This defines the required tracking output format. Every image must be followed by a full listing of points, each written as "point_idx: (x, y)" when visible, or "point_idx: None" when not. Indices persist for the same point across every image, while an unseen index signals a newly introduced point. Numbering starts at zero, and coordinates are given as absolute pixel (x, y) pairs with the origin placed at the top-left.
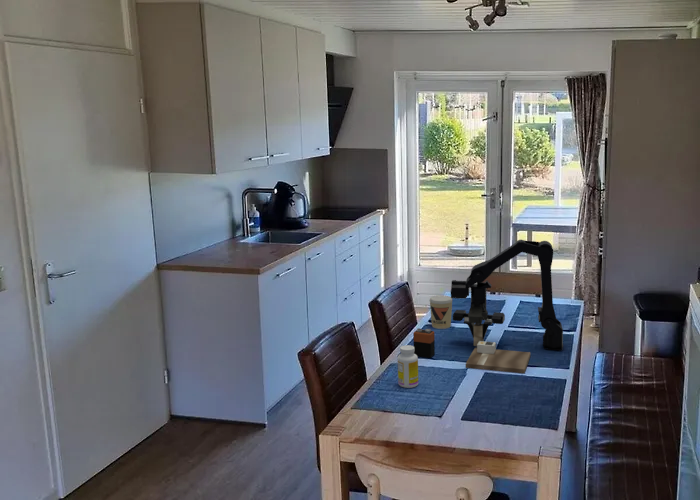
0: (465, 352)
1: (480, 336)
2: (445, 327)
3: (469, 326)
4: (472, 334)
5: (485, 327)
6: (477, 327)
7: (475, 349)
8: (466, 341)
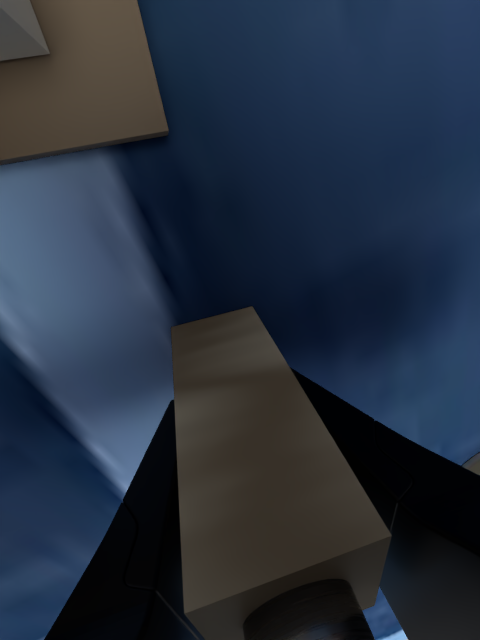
0: (268, 30)
1: (198, 396)
2: (476, 464)
3: (453, 477)
4: (316, 389)
5: (102, 610)
6: (287, 524)
7: (111, 20)
8: (336, 365)
